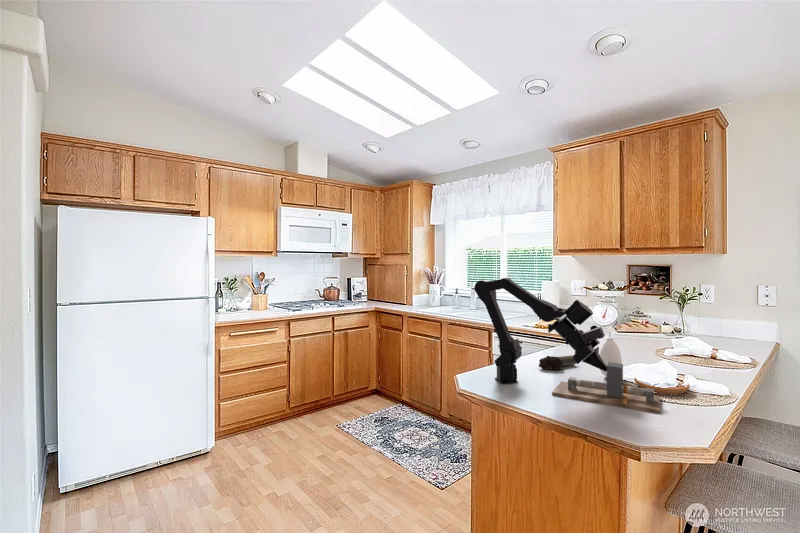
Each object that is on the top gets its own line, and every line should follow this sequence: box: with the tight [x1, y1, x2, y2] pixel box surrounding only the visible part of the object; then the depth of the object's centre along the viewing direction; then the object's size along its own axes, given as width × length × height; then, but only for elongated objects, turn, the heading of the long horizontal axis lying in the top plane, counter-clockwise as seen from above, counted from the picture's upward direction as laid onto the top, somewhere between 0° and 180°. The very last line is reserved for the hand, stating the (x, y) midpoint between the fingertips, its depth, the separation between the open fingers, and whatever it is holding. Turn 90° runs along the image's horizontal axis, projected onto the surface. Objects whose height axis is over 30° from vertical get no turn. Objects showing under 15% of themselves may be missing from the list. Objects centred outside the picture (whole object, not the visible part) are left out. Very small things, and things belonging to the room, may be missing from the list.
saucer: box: [634, 377, 690, 395], centre depth 137 cm, size 16×16×3 cm
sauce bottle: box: [599, 330, 623, 378], centre depth 150 cm, size 8×8×18 cm
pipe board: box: [551, 376, 661, 414], centre depth 129 cm, size 30×14×5 cm, turn 56°
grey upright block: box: [606, 362, 624, 398], centre depth 127 cm, size 4×6×10 cm
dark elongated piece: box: [538, 355, 577, 371], centre depth 165 cm, size 18×7×6 cm, turn 114°
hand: (607, 370), depth 128 cm, fingers closed, pressing on grey upright block
